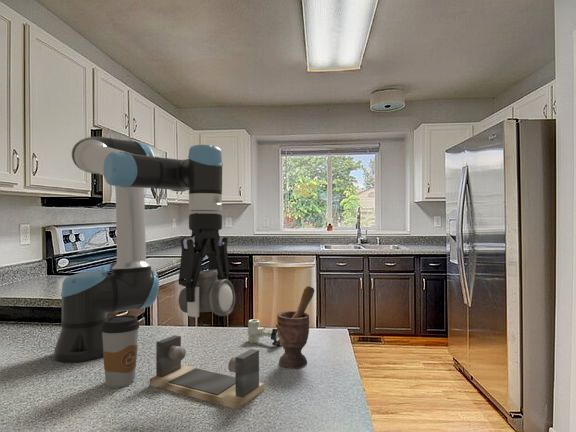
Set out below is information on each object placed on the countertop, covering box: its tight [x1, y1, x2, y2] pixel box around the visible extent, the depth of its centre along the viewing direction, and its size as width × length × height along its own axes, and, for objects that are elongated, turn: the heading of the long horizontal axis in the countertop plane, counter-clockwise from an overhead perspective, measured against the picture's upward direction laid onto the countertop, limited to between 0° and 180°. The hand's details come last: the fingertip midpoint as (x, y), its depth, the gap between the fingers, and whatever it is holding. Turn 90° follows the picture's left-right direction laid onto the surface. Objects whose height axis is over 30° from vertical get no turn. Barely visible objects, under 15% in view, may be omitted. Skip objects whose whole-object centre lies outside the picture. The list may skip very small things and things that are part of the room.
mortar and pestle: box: [276, 285, 315, 369], centre depth 103 cm, size 12×9×20 cm
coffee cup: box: [101, 314, 140, 389], centre depth 90 cm, size 8×8×15 cm
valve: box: [247, 318, 281, 348], centre depth 119 cm, size 7×7×12 cm
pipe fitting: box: [177, 269, 236, 317], centre depth 87 cm, size 12×8×10 cm
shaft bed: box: [149, 335, 265, 410], centre depth 87 cm, size 25×10×10 cm, turn 62°
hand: (205, 312), depth 87 cm, fingers closed on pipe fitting, 7 cm apart
